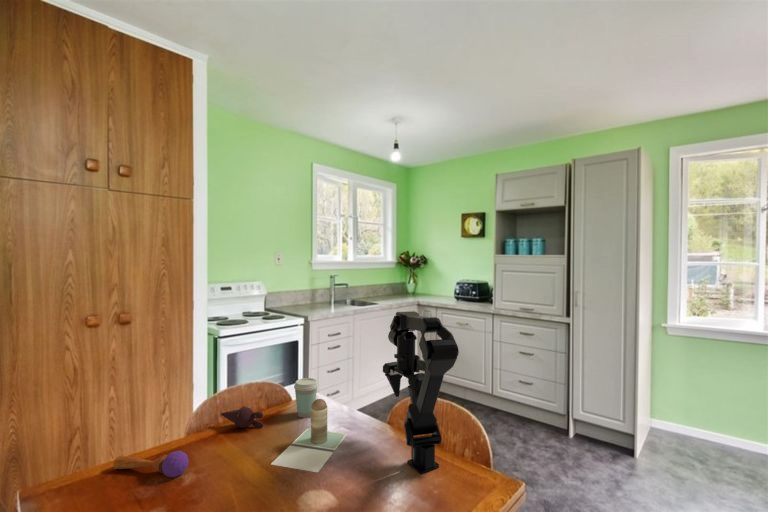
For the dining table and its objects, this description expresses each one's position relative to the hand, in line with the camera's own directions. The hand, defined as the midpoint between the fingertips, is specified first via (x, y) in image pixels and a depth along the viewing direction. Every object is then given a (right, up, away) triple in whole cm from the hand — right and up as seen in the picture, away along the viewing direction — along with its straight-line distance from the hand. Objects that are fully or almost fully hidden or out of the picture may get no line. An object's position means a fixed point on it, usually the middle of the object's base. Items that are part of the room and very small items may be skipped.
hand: (405, 401), depth 115 cm
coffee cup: (-35, -12, +18) cm, 41 cm away
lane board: (-28, -12, -6) cm, 31 cm away
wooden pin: (-27, -11, -2) cm, 29 cm away
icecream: (-54, -12, +8) cm, 56 cm away
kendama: (-68, -12, -18) cm, 71 cm away
